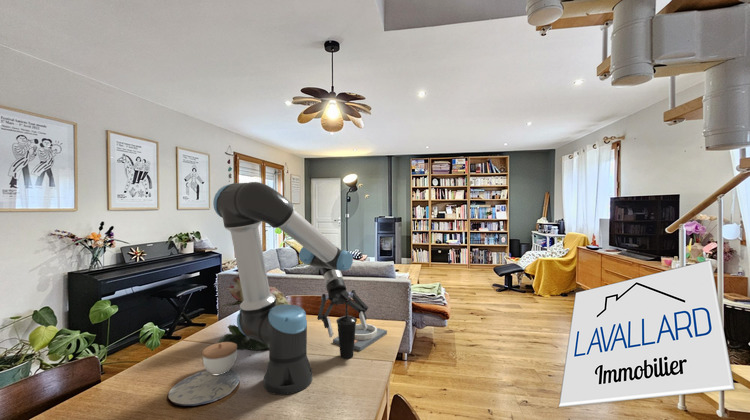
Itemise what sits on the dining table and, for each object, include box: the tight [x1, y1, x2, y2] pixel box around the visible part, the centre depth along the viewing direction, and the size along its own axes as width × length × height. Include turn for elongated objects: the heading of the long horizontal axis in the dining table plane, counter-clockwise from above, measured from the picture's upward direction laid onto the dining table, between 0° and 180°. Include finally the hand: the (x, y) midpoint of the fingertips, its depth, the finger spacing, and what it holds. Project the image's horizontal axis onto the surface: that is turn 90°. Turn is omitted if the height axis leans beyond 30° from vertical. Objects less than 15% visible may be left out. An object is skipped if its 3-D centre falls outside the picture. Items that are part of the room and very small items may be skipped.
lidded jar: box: [201, 342, 238, 375], centre depth 110 cm, size 11×11×9 cm
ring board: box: [332, 323, 388, 352], centre depth 137 cm, size 20×14×4 cm
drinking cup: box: [336, 303, 358, 360], centre depth 121 cm, size 8×8×20 cm
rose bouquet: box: [217, 273, 292, 351], centre depth 138 cm, size 26×29×30 cm
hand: (349, 332), depth 119 cm, fingers open, 13 cm apart
